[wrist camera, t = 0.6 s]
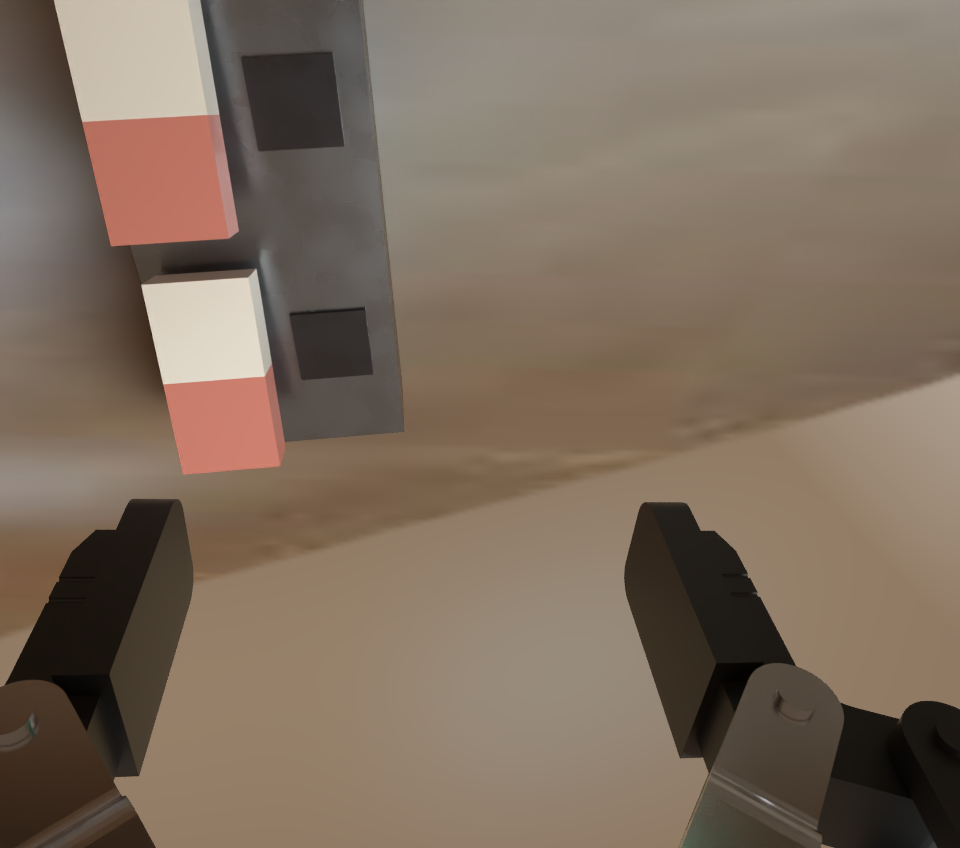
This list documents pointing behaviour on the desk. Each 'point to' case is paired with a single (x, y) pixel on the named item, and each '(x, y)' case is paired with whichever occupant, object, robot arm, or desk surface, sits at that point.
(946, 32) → the desk surface
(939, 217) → the desk surface
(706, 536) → the robot arm
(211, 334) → the rocker
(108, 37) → the block
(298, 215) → the power strip
